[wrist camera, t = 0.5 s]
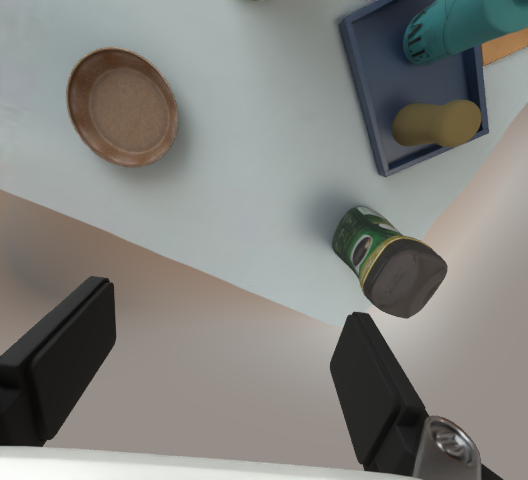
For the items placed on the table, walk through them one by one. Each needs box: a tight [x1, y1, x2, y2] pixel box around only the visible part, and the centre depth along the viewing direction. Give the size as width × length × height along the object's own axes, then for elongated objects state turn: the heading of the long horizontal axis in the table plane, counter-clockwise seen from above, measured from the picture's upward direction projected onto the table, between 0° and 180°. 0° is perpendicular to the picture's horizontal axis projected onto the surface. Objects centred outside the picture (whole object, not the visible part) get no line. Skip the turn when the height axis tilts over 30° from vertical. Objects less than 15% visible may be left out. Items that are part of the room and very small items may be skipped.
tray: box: [339, 0, 489, 177], centre depth 37 cm, size 22×16×2 cm
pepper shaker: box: [392, 100, 481, 147], centre depth 35 cm, size 6×6×11 cm
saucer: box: [66, 47, 178, 167], centre depth 37 cm, size 15×15×3 cm
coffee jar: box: [332, 207, 447, 318], centre depth 38 cm, size 10×8×19 cm
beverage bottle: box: [403, 0, 528, 66], centre depth 27 cm, size 6×7×20 cm
